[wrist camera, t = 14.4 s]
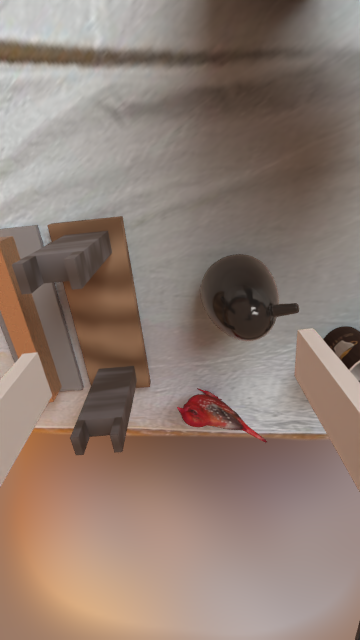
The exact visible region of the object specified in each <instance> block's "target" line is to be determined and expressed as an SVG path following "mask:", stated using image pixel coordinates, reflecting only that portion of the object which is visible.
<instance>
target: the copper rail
mask: <svg viewBox="0 0 360 640" xmlns="http://www.w3.org/2000/svg"><path fill="white" fill-rule="evenodd" d="M19 260H21V259H20V256H19V253H18V250H17V247H16V244H15V240H14V237H13V236H9V237H0V311H1V314H2V316H3V319H4V322H5V324H6V327H7V330H8V332H9V335H10V338H11V340H12V343H13V345H14V348H15V351H16V353H17V356H18V359H19V358H20V357H21V355H22V354H25V353H37V352H38V355H39V358H40V361H41V364H42V367H43V370H44V373H45V376H46V378H47V381H48V384H49V387H50V390H51V393H52V397H51V399H50V400H49V402H54V400H55V398H56V396H57V394H58V393H59V391H60V389H61V387H62V386H61V383H60V380H59V377H58V374H57V371H56V368H55V365H54V361H53V358H52V355H51V352H50V349H49V346H48V343H47V340H46V337H45V333H44V330H43V327H42V324H41V321H40V318H39V315H38V312H37V309H36V306H35V302H34V299H33V296H32V294H21V291H20V288H19V285H18V282H17V279H16V276H15V273H14V270H13V267H12V264H13V263H15V262H17V261H19Z"/></svg>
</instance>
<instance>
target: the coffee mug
mask: <svg viewBox="0 0 360 640" xmlns="http://www.w3.org/2000/svg"><path fill="white" fill-rule="evenodd" d="M324 341H325V343H326V344H327V345H328V346H329V347H330V348H331V350H332V351H333V352H334V353H335V354H336V355H337V357H338V358H339V359H340V360H341V361H342V362H343V364H344V365H345V366H346V367H347V368H348V370H349V371H350V372H351V373H352V374H353V375H354V377H355V378H356V379H357V380H358V381H360V332H359V331H358V330H356V329H354V328H352V327H347V326H345V327H339V328H336V329H334V330H332V331H331V332H330V333H328V334H327V335H326V337H325V338H324Z"/></svg>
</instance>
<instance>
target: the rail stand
mask: <svg viewBox="0 0 360 640" xmlns="http://www.w3.org/2000/svg"><path fill="white" fill-rule="evenodd" d="M48 229H49V233H50V236H51V240H52V242H51V243H50V244H48V245H46V246H44V247H42V248H41V249H39V250H37V251H35V252H33V253H32V254H30V255H28V256H26V257H24V258H22V259H21V260H19V261H17V262H15V263H13V264H12V267H13V270H14V273H15V276H16V279H17V282H18V285H19V288H20V291H21V294H32V293H33V292H34V291H35V290H37V289H38V288H39V287H40V286H41V285H43V284H44V283H55V282H63V284H64V288H65V291H66V295H67V299H68V303H69V306H70V310H71V314H72V317H73V321H74V325H75V328H76V332H77V336H78V339H79V343H80V347H81V350H82V354H83V358H84V361H85V365H86V369H87V372H88V376H89V380H90V383H91V388H90V391H89V393H88V396H87V398H86V400H85V403H84V405H83V408H82V410H81V413H80V415H79V417H78V420H77V422H76V425H75V427H74V430H73V432H72V434H71V437H70V439H71V442H72V445H73V448H74V451H75V454H76V455H83V454H84V452H85V449H86V446H87V443H88V440H89V437H92V436H105V435H110V437H111V441H112V445H113V449H114V452H122V451H123V446H124V441H125V436H126V431H127V426H128V422H129V417H130V412H131V407H132V402H133V397H134V392H135V388H140V387H150V382H151V381H150V375H149V369H148V364H147V358H146V352H145V346H144V340H143V334H142V328H141V322H140V317H139V311H138V305H137V299H136V293H135V287H134V281H133V276H132V270H131V264H130V258H129V252H128V246H127V240H126V234H125V229H124V223H123V217H122V216H120V217H110V218H101V219H91V220H82V221H72V222H63V223H53V224H50V225H48Z"/></svg>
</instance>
